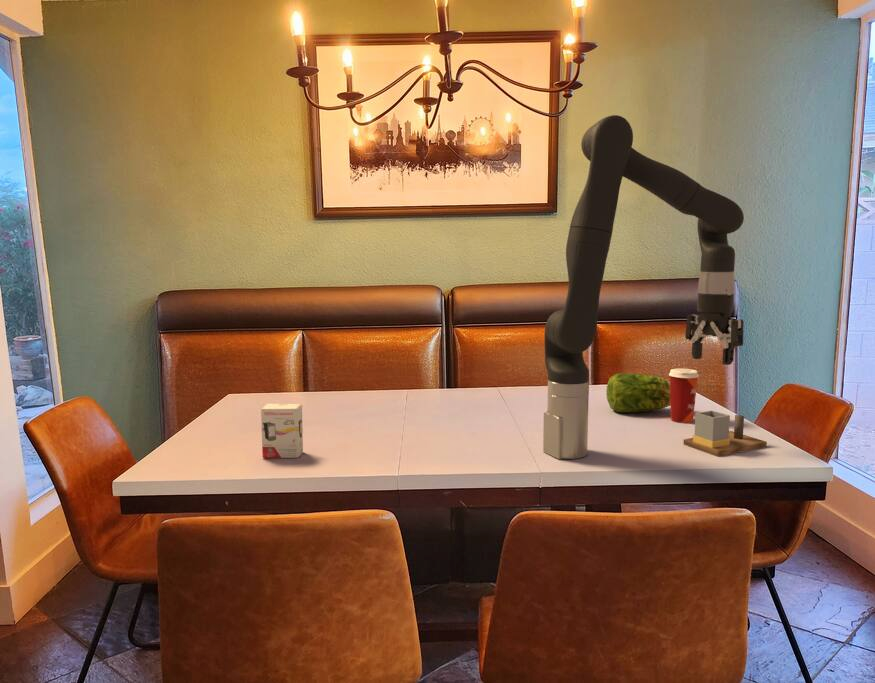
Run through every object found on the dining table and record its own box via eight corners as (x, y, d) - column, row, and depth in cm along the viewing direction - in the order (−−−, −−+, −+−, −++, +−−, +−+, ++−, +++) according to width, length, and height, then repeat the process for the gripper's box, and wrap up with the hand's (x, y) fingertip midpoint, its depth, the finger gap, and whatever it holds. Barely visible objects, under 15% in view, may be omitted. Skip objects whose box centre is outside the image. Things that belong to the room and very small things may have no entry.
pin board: (717, 456, 137) (719, 427, 136) (683, 444, 146) (684, 417, 145) (766, 446, 144) (768, 419, 143) (730, 435, 153) (732, 409, 152)
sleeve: (712, 447, 139) (713, 418, 138) (692, 441, 145) (694, 412, 144) (729, 444, 142) (731, 415, 141) (710, 438, 147) (711, 410, 146)
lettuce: (685, 416, 171) (687, 377, 169) (612, 417, 172) (613, 377, 170) (671, 406, 182) (673, 369, 181) (602, 407, 183) (603, 370, 181)
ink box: (261, 458, 139) (258, 408, 138) (267, 451, 144) (265, 403, 143) (299, 458, 139) (297, 408, 138) (304, 451, 144) (302, 403, 143)
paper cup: (699, 424, 163) (702, 373, 161) (669, 423, 164) (671, 372, 162) (693, 417, 170) (695, 368, 168) (664, 416, 172) (666, 367, 170)
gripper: (679, 290, 144) (676, 358, 146) (730, 293, 131) (725, 367, 133) (703, 289, 147) (699, 355, 149) (754, 292, 134) (749, 365, 136)
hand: (711, 361), depth 141 cm, fingers open, 8 cm apart
